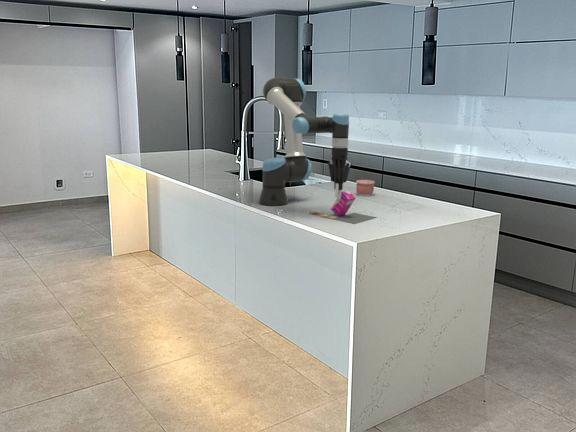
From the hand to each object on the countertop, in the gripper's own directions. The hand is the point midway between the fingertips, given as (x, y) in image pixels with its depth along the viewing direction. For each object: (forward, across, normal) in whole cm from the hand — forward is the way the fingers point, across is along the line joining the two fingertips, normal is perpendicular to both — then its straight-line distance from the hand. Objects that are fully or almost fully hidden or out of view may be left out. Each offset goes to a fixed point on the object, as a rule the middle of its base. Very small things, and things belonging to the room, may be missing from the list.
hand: (338, 196), depth 265 cm
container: (+9, -21, +53) cm, 58 cm away
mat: (+9, +10, 0) cm, 14 cm away
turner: (+9, -2, -7) cm, 12 cm away
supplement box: (+8, 0, 0) cm, 8 cm away
